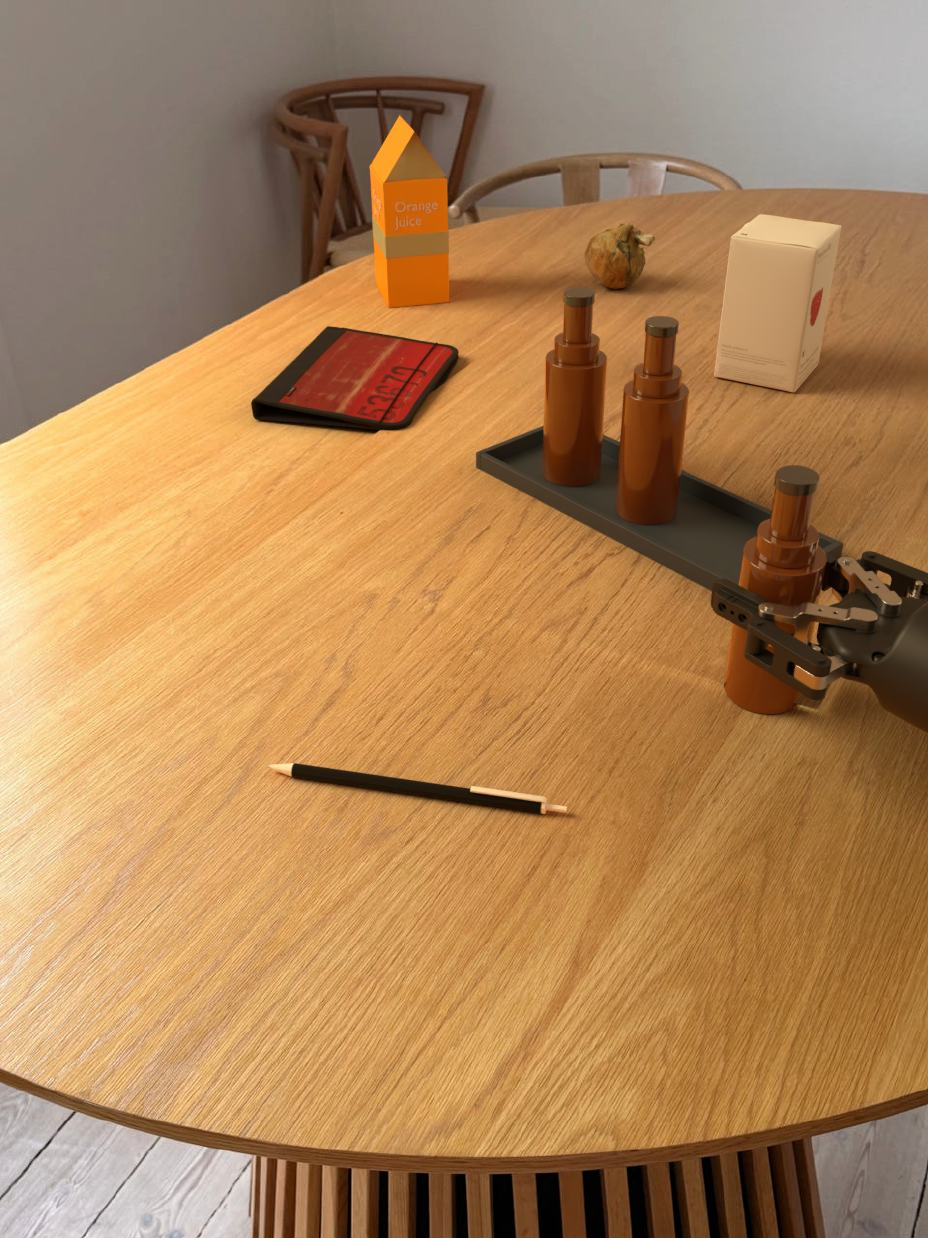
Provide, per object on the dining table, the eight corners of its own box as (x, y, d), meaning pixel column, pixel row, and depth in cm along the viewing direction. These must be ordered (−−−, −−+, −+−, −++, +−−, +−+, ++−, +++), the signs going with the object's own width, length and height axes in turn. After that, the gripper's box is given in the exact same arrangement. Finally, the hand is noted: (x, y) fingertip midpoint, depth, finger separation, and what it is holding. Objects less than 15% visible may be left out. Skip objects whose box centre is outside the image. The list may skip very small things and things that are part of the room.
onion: (632, 272, 156) (636, 208, 151) (653, 292, 149) (658, 227, 145) (575, 276, 154) (578, 212, 150) (594, 297, 148) (597, 231, 143)
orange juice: (387, 307, 146) (379, 132, 134) (374, 284, 153) (365, 115, 141) (451, 302, 147) (448, 127, 136) (435, 278, 154) (431, 111, 143)
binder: (249, 398, 118) (325, 323, 135) (251, 420, 120) (326, 343, 136) (406, 421, 115) (464, 341, 132) (406, 443, 117) (463, 362, 133)
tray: (839, 565, 96) (843, 542, 95) (750, 618, 90) (753, 594, 89) (564, 436, 116) (564, 416, 115) (475, 472, 110) (475, 452, 109)
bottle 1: (609, 467, 110) (621, 287, 100) (586, 492, 106) (595, 307, 96) (557, 455, 112) (563, 277, 102) (532, 479, 108) (536, 296, 98)
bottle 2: (685, 503, 104) (705, 316, 94) (664, 530, 100) (682, 338, 91) (629, 490, 106) (642, 305, 97) (605, 516, 102) (617, 326, 93)
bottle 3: (810, 681, 84) (851, 466, 75) (789, 723, 80) (829, 502, 71) (737, 660, 86) (768, 448, 77) (713, 700, 82) (742, 483, 73)
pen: (565, 820, 73) (566, 806, 72) (266, 776, 77) (264, 762, 76) (567, 810, 74) (568, 796, 73) (270, 767, 77) (269, 753, 77)
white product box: (795, 395, 124) (818, 248, 115) (711, 378, 127) (728, 234, 119) (821, 364, 130) (844, 223, 122) (740, 349, 134) (758, 211, 125)
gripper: (898, 793, 68) (672, 660, 78) (1030, 689, 75) (808, 581, 86) (926, 686, 63) (683, 561, 74) (1063, 588, 71) (825, 487, 82)
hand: (751, 572), depth 80 cm, fingers open, 6 cm apart
